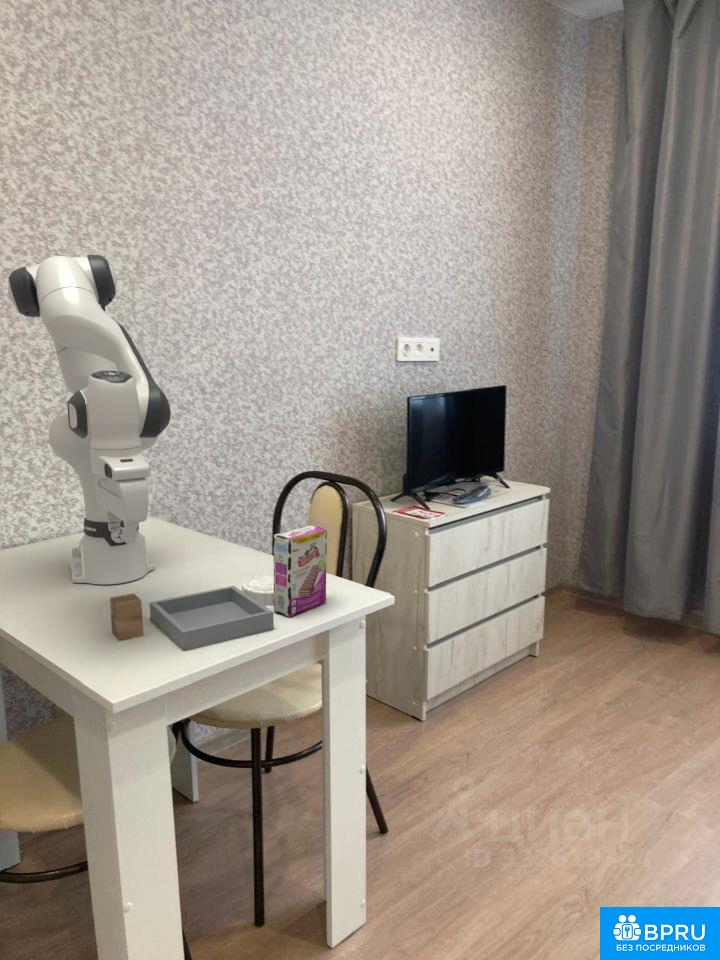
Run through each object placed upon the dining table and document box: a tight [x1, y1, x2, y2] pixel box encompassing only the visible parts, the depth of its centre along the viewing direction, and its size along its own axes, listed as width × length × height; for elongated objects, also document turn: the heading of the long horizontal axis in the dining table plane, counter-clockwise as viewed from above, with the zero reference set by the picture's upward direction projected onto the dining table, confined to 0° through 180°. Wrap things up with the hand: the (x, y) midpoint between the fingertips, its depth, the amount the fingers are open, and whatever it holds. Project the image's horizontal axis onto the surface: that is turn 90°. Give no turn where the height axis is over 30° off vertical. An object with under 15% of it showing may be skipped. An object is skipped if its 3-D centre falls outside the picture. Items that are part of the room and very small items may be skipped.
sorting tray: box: [149, 585, 275, 652], centre depth 144 cm, size 18×18×4 cm
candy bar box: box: [273, 525, 328, 618], centre depth 152 cm, size 11×5×16 cm, turn 141°
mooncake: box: [241, 573, 274, 607], centre depth 160 cm, size 12×12×4 cm
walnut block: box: [109, 593, 144, 642], centre depth 139 cm, size 4×4×7 cm
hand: (122, 537), depth 136 cm, fingers open, 8 cm apart
